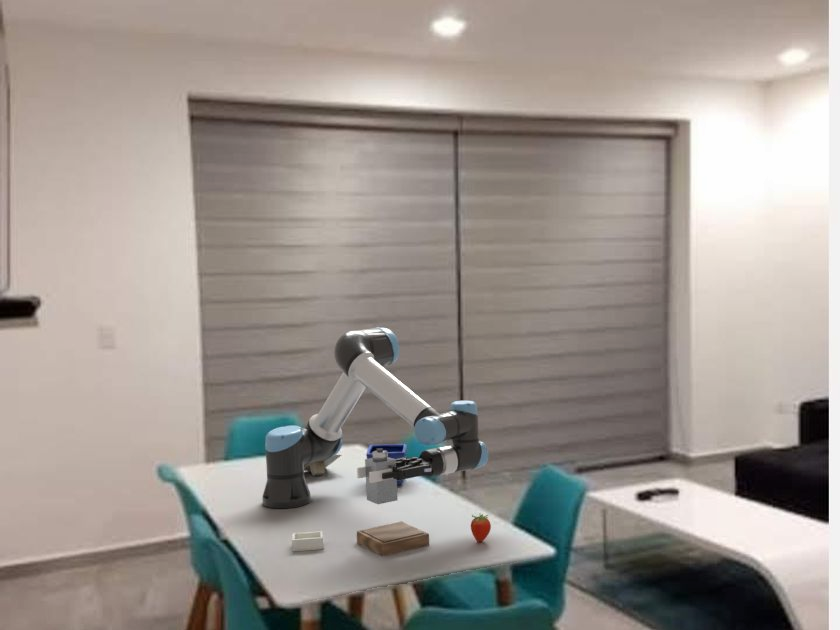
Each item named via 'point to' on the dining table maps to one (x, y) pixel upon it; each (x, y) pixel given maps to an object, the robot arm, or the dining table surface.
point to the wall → (320, 466)
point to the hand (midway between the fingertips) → (364, 475)
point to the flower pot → (390, 452)
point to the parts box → (307, 541)
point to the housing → (381, 489)
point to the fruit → (480, 527)
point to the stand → (392, 538)
